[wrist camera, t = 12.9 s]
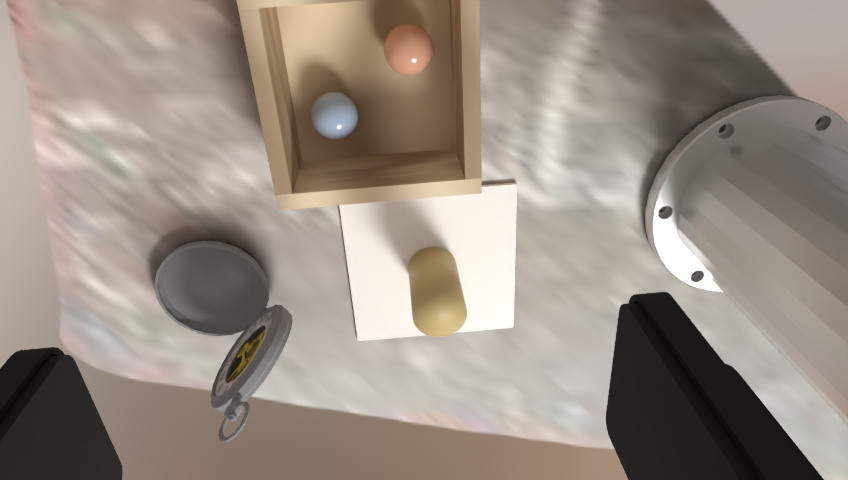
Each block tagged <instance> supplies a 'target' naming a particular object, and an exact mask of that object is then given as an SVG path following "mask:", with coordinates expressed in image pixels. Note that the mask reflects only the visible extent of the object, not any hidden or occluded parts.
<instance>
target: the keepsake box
mask: <svg viewBox="0 0 848 480" xmlns="http://www.w3.org/2000/svg"><path fill="white" fill-rule="evenodd" d="M237 5H238V10H239V15H240V20H241V25H242V30H243V35H244V40H245V46H246V51H247V56H248V61H249V66H250V71H251V76H252V81H253V86H254V91H255V96H256V101H257V106H258V111H259V116H260V121H261V126H262V131H263V136H264V141H265V146H266V151H267V156H268V161H269V166H270V171H271V176H272V181H273V186H274V191H275V196H276V201H277V206H278V210H287V209H299V208H311V207H323V206H335V205H347V204H359V203H371V202H383V201H395V200H407V199H419V198H431V197H443V196H455V195H467V194H479V193H482V180H481V93H480V6H479V0H237ZM405 23H412V24H416V25H418V26H420V27H422V28H423V29H425V30H426V32H427V33H428V34H429V36H430V37H431V40H432V43H433V56H432V59H431V61H430V63H429V65H428V66H427V67H426V68H425V69H424V70H423V71H421V72H420V73H417V74H414V75H404V74H400V73H398V72H396V71H395V70H393V69H392V68H391V67H390V65H389V64H388V62H387V60H386V58H385V54H384V44H385V40H386V38H387V36H388V34H389V33H390V31H391V30H392V29H394V28H395V27H397V26H398V25H401V24H405ZM328 92H339V93H342V94H345V95H346V96H348V97H349V98H350V99H351V100H352V101H353V102H354V104H355V105H356V108H357V111H358V122H357V126H356V128H355V130H354V131H353V132H352V133H351V134H350V135H349V136H347V137H346V138H344V139H340V140H330V139H327V138H324V137H323V136H321V135H320V134H319V133H318V132H317V131H316V130H315V129H314V127H313V125H312V122H311V108H312V106H313V104H314V102H315V101H316V100H317V98H319V97H320V96H321V95H323V94H325V93H328Z"/></svg>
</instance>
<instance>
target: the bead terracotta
mask: <svg viewBox="0 0 848 480" xmlns="http://www.w3.org/2000/svg"><path fill="white" fill-rule="evenodd" d="M384 54H385V58H386V60H387V62H388V64H389V65H390V67H391V68H392V69H393V70H395V71H396V72H398V73H400V74H404V75H414V74H417V73H420V72H421V71H423V70H424V69H425V68H426V67H427V66H428V65H429V63H430V61H431V59H432V56H433V43H432V40H431V37H430V36H429V34H428V33H427V32H426V30H425V29H423V28H422V27H420V26H418V25H416V24H412V23H405V24H401V25H398V26H397V27H395V28H394V29H392V30H391V31H390V33H389V34H388V36H387V38H386V40H385V44H384Z"/></svg>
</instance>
